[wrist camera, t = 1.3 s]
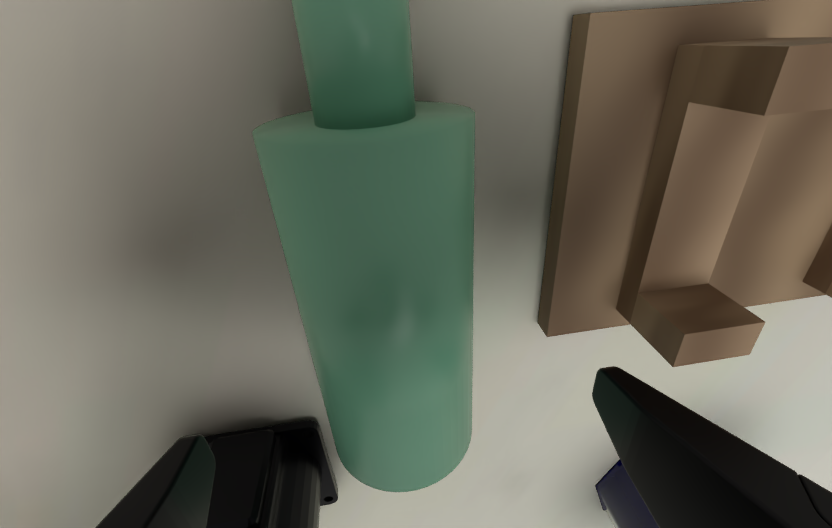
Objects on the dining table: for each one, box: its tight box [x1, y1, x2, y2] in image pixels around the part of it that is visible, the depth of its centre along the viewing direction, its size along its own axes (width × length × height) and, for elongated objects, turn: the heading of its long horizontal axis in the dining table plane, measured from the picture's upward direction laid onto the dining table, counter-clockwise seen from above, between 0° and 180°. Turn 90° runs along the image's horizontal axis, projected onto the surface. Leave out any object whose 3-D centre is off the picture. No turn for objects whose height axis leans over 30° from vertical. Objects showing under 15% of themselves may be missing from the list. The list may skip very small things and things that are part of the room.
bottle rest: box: [538, 0, 832, 367], centre depth 14 cm, size 18×12×4 cm, turn 94°
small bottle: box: [252, 0, 475, 492], centre depth 12 cm, size 16×6×6 cm, turn 4°
